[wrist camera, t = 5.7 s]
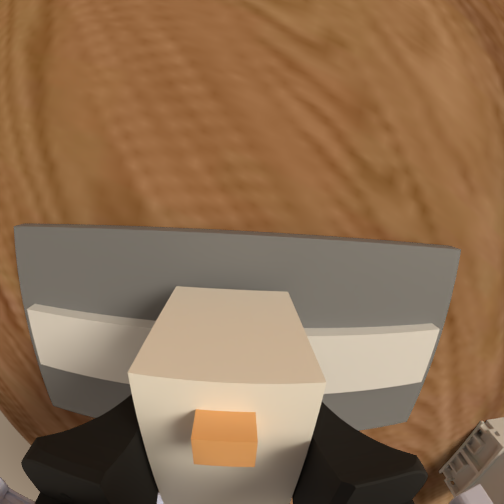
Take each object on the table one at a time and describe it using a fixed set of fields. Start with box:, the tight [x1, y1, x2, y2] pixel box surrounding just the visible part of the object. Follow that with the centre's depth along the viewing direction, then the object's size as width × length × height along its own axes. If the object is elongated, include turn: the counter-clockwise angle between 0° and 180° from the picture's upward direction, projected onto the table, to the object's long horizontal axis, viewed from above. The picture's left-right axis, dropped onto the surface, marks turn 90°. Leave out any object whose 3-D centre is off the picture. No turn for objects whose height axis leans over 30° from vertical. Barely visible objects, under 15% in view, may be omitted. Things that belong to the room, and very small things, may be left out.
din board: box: [14, 224, 461, 431], centre depth 14 cm, size 24×12×2 cm, turn 86°
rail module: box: [128, 286, 327, 504], centre depth 9 cm, size 4×8×7 cm, turn 177°
